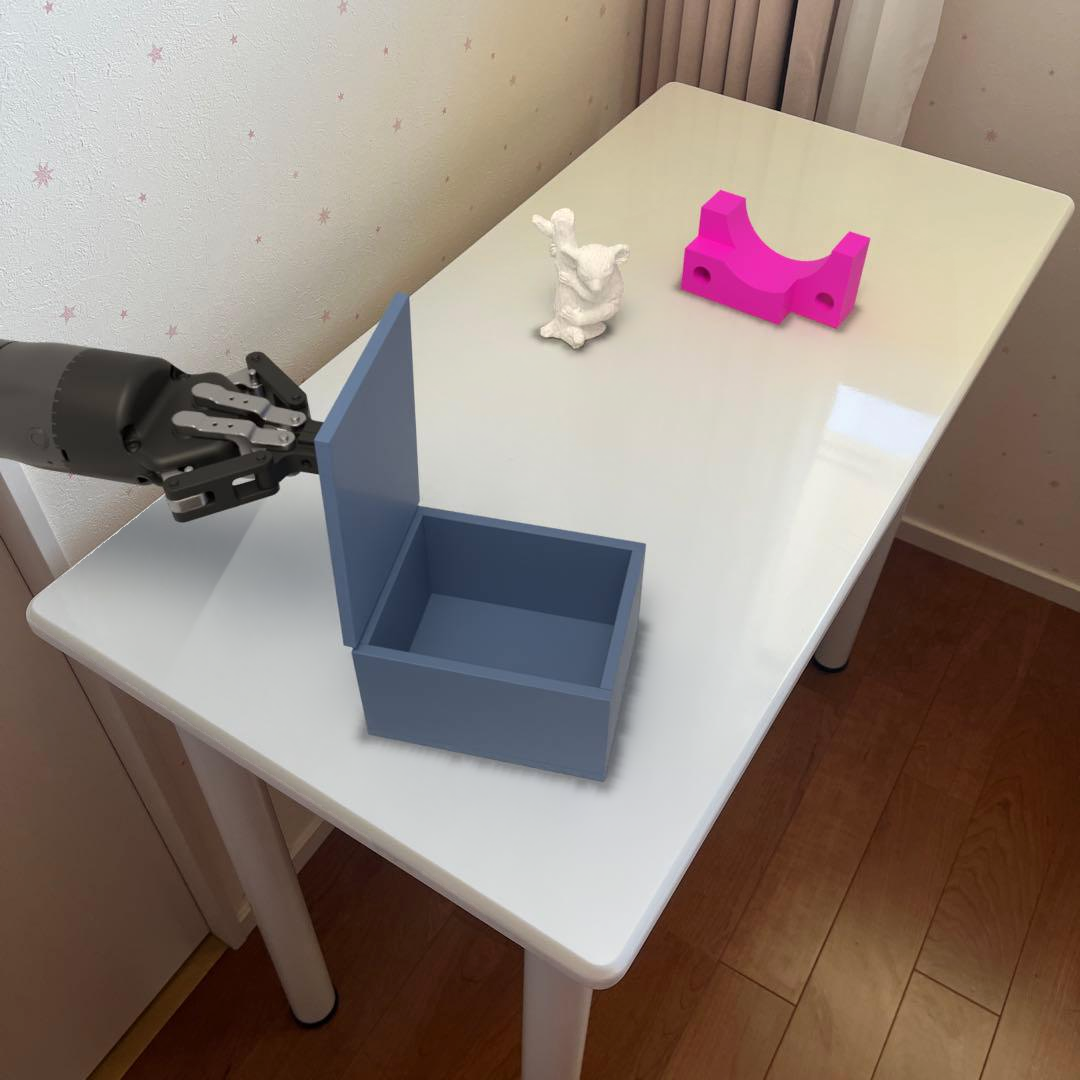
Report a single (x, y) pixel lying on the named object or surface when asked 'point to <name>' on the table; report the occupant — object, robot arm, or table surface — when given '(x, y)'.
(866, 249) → the magenta pillow block
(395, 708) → the blue box
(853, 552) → the table surface
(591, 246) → the koala figurine
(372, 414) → the box lid
